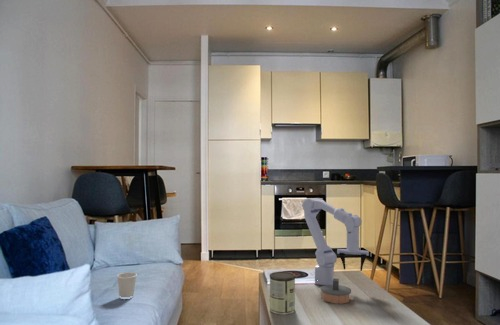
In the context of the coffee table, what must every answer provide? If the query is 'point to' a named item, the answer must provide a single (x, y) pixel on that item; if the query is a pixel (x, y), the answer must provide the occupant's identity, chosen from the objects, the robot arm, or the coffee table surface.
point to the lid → (335, 288)
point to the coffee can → (282, 293)
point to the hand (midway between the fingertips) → (352, 269)
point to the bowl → (335, 298)
